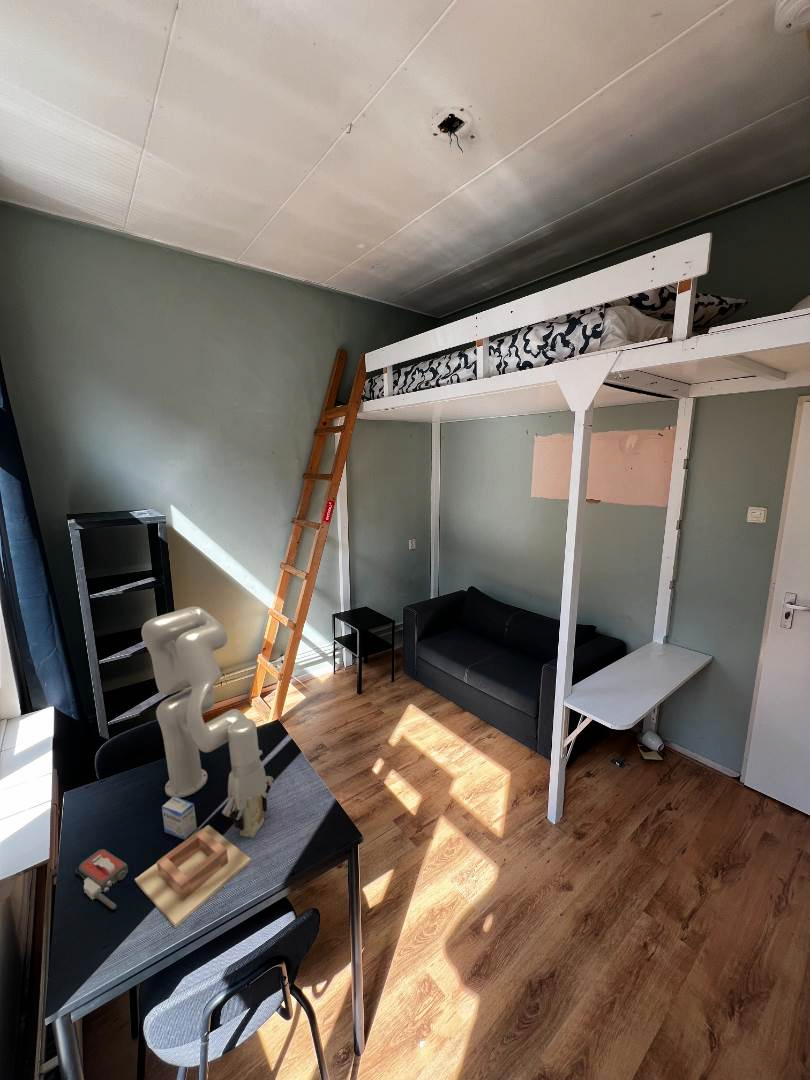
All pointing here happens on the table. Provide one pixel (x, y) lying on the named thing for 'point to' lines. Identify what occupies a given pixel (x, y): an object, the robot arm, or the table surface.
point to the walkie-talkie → (101, 874)
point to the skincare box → (252, 816)
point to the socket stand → (191, 874)
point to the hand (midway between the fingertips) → (251, 818)
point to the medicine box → (179, 817)
